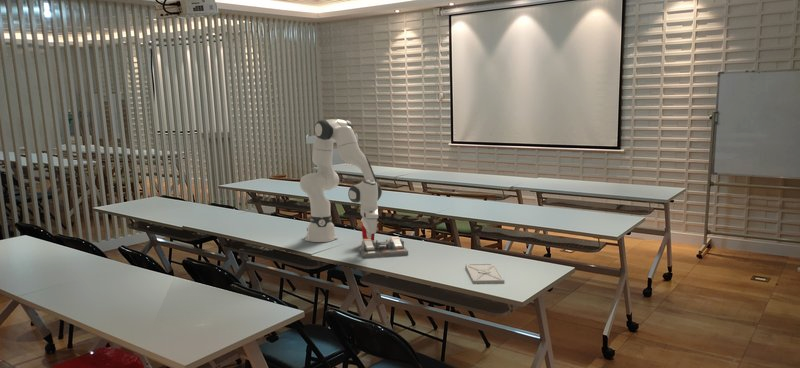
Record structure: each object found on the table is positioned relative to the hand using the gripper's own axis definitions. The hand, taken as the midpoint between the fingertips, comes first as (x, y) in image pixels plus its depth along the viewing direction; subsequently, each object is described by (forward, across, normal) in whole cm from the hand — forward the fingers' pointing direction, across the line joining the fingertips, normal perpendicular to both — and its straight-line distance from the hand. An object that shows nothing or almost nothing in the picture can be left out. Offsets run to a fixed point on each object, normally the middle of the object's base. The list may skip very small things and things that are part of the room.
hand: (368, 237), depth 301 cm
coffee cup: (+10, -20, +4) cm, 23 cm away
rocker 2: (+4, -4, +8) cm, 10 cm away
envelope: (+8, +47, +45) cm, 66 cm away
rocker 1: (+4, -3, +1) cm, 6 cm away
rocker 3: (+4, -4, +16) cm, 17 cm away
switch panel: (+9, -1, +8) cm, 12 cm away
